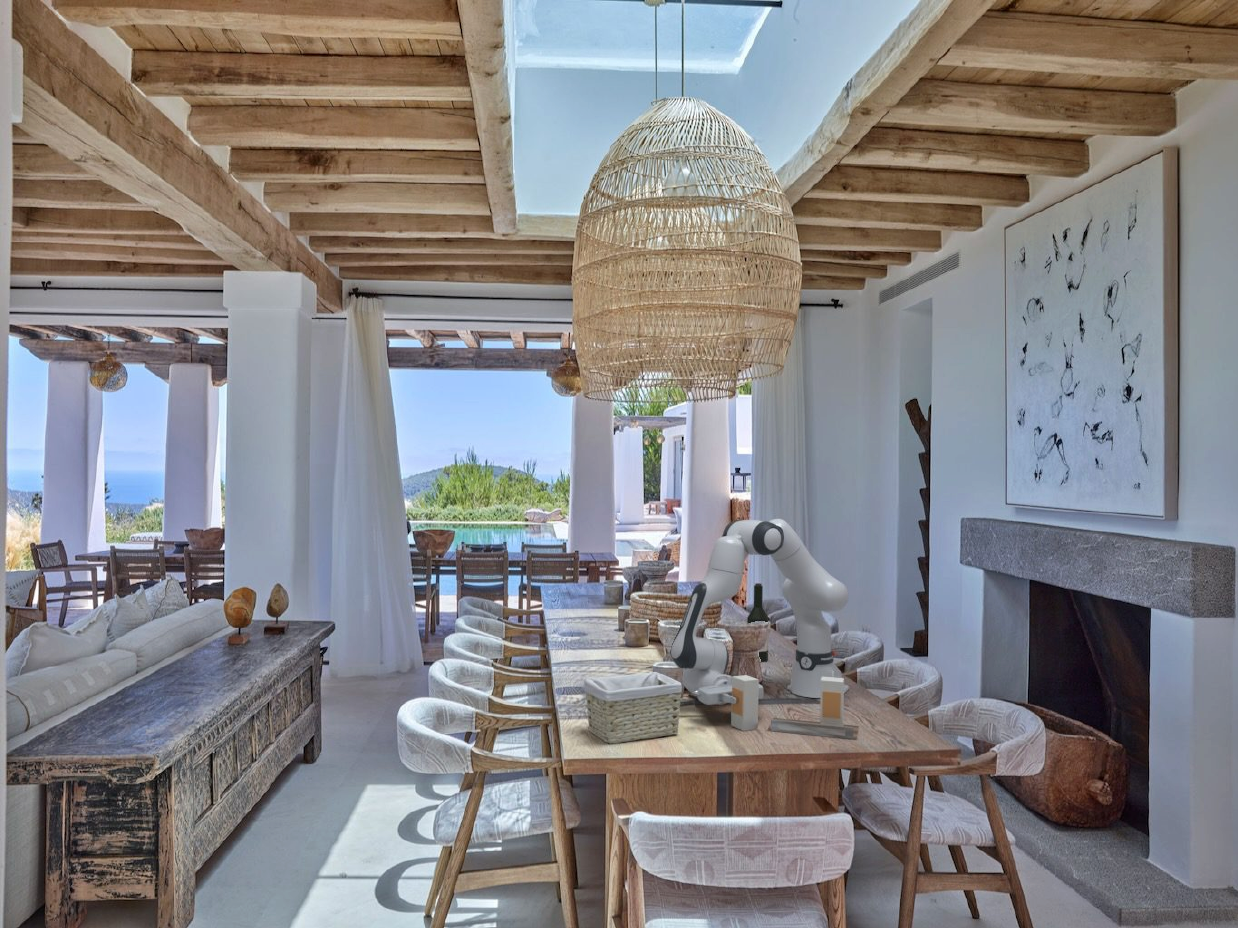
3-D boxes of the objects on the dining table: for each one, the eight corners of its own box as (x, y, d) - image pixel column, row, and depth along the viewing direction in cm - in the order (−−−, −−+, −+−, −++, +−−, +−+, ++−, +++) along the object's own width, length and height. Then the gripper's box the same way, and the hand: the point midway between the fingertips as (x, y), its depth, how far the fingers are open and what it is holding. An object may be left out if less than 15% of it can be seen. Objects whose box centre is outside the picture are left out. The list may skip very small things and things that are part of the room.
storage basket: (604, 746, 230) (605, 690, 230) (581, 730, 244) (581, 677, 245) (684, 736, 240) (684, 682, 240) (656, 721, 255) (657, 670, 255)
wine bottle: (765, 658, 347) (766, 582, 347) (770, 662, 338) (771, 585, 339) (744, 657, 346) (745, 582, 347) (748, 662, 338) (749, 584, 338)
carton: (821, 726, 246) (822, 676, 246) (843, 728, 244) (844, 678, 245) (820, 731, 241) (820, 680, 241) (842, 733, 239) (842, 682, 240)
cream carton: (745, 723, 253) (746, 675, 253) (757, 729, 248) (758, 679, 248) (730, 725, 251) (731, 676, 251) (742, 731, 245) (743, 681, 246)
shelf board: (773, 722, 254) (773, 707, 254) (858, 731, 247) (859, 715, 247) (766, 736, 241) (767, 719, 241) (856, 745, 234) (856, 728, 234)
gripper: (689, 681, 256) (716, 692, 244) (746, 675, 266) (775, 685, 253) (689, 703, 256) (715, 714, 244) (746, 696, 265) (774, 707, 253)
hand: (746, 699), depth 249 cm, fingers closed on cream carton, 5 cm apart
